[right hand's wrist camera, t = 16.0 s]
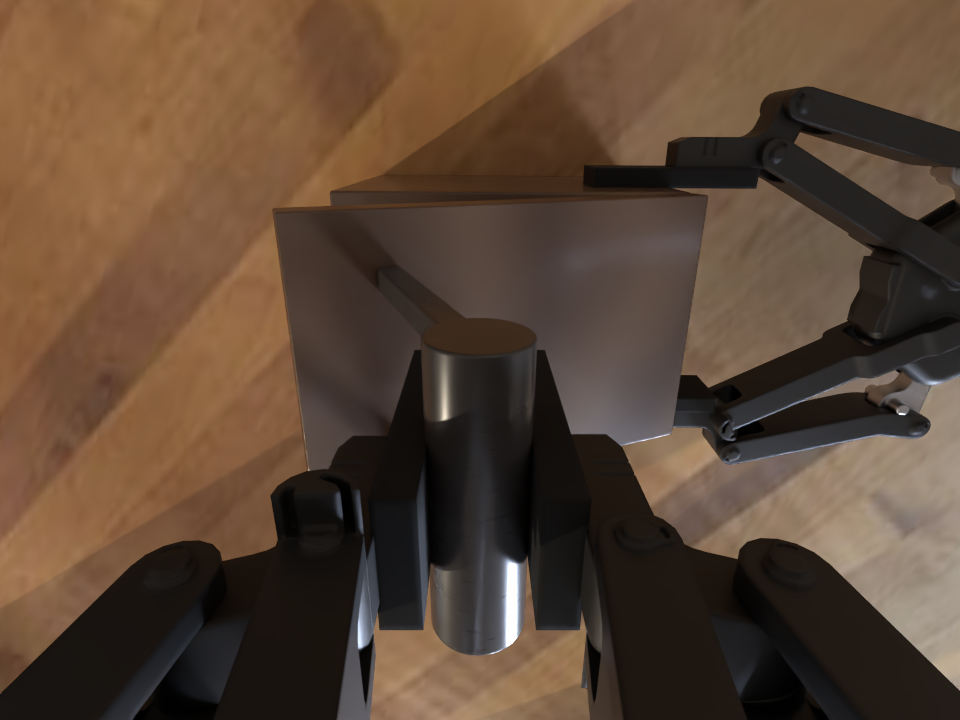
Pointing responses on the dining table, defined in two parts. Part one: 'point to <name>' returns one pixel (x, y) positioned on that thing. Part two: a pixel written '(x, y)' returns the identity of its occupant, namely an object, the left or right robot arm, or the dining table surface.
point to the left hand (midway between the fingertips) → (580, 292)
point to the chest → (473, 189)
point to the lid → (487, 354)
